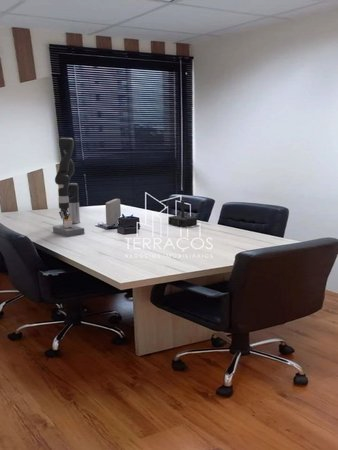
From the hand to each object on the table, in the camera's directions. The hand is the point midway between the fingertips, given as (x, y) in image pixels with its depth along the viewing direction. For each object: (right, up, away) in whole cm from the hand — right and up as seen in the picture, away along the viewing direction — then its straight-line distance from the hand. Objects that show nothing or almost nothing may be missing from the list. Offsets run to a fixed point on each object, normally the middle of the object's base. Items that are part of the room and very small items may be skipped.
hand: (65, 224), depth 318 cm
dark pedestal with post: (+89, 0, +24) cm, 92 cm away
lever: (+3, -2, -3) cm, 5 cm away
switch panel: (+3, -6, -2) cm, 7 cm away
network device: (+33, 0, +27) cm, 43 cm away
